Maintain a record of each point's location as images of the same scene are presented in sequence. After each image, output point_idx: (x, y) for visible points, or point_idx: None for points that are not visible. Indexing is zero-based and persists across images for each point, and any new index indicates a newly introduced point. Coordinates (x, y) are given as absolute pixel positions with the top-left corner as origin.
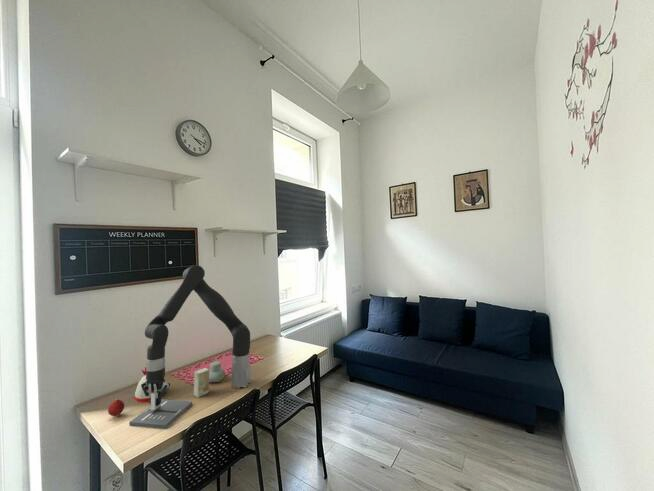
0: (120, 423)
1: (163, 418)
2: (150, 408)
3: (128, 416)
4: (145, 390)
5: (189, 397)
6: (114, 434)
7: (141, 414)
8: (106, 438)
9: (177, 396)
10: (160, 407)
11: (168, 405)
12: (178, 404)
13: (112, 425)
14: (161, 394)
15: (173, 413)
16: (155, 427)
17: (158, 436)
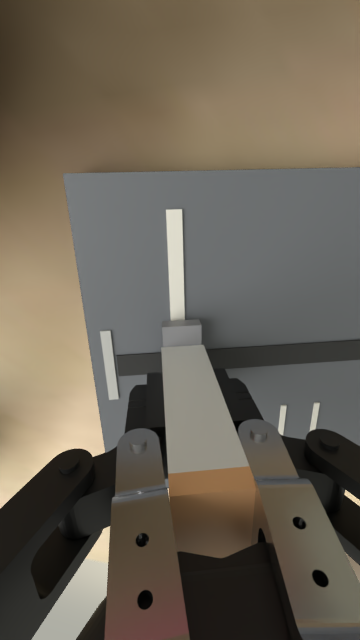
0: (34, 470)
1: (317, 423)
2: (112, 344)
3: (3, 409)
4: (38, 618)
5: (331, 12)
6: (106, 532)
7: (116, 422)
8: (97, 556)
9: (167, 6)
10: (191, 315)
11: (244, 274)
12: (332, 242)
13: (5, 492)
14: (346, 525)
15: (358, 364)
16: None
17: (351, 495)
